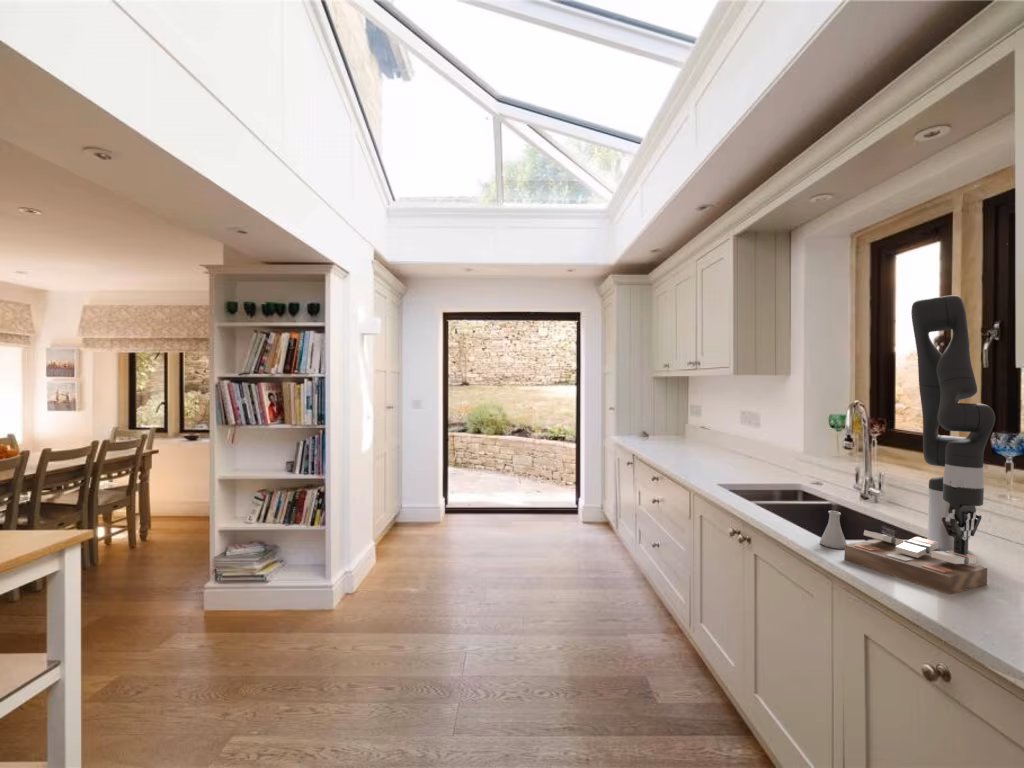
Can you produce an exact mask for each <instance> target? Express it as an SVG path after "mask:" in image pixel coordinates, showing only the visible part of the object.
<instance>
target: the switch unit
mask: <svg viewBox="0 0 1024 768" xmlns="http://www.w3.org/2000/svg"><path fill="white" fill-rule="evenodd" d="M846 544H847V545H845V549H844V560H845V561H848V562H851V563H853V564H854V563H855V564H857V565H860V566H862V567H866V568H869V569H871V570H875V571H879V572H881V573H884V574H888V575H891V576H894V577H896V578H898V579H902V580H905V581H908V582H912V583H915V584H916V585H917V584H918V585H921V586H922V587H926V588H930V589H932V590H934V591H938V592H941V593H944V594H947V595H953V594H956V593H959V592H960V593H961V592H964V591H966V590H971V589H975V588H979V587H982V586H986V585H987V584H988V567H985V566H982V565H980V564H976V563H970V564H967V565H966V564H954V563H951V562H947V561H944V560H940V559H937V558H933V557H931V553H932V551H930V553H929V554H925V555H923V556H921V557H919V558H916V557H913V556H909V555H906V554H902V553H899V552H896V548H895V546H897V545H898V544H891V543H888V542H884V541H880V540H877V539H871V540H867V541H859V542H854V543H846Z"/></svg>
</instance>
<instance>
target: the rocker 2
mask: <svg viewBox="0 0 1024 768" xmlns="http://www.w3.org/2000/svg"><path fill="white" fill-rule="evenodd" d="M895 548H896V552H899V553H902V554H906V555H909V556H913V557H916V558H919V557H921V556H923V555H925V554H929V553H930V552H932V551H935V550H937V549H936V548H938V542H935V541H932V540H928V539H927V538H923V537H920V536H914V537H912V538H910V539H908V540H903V543H902V544H899V545H897V546H895Z"/></svg>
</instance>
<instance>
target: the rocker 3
mask: <svg viewBox="0 0 1024 768" xmlns="http://www.w3.org/2000/svg"><path fill="white" fill-rule="evenodd" d="M931 552H932V553H931V557H933V558H937V559H940V560H944V561H947V562H951V563H954V564H966V565H967V564H970V563H972V564H977V557H976V556H975V555H970V554H966V555H963V554H959V553H955V552H954V551H943V550H932V551H931Z"/></svg>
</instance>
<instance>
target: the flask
mask: <svg viewBox="0 0 1024 768" xmlns="http://www.w3.org/2000/svg"><path fill="white" fill-rule="evenodd" d="M827 512H828V514H829V516H828V523H827V525H826V527H825V530H824V531H823V534H822V535H821V538H820V540H819V544H820V545H823V546H824V547H826V548H831V549H838V550H839V549H840V550H845V545H847V544H848V543H847V542H846V538H845V535H844V532H843V530H842V527H841V522H840V521H841V519H840V518H841V515H842V513H841V512H840V511H836V510H828V511H827Z"/></svg>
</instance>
